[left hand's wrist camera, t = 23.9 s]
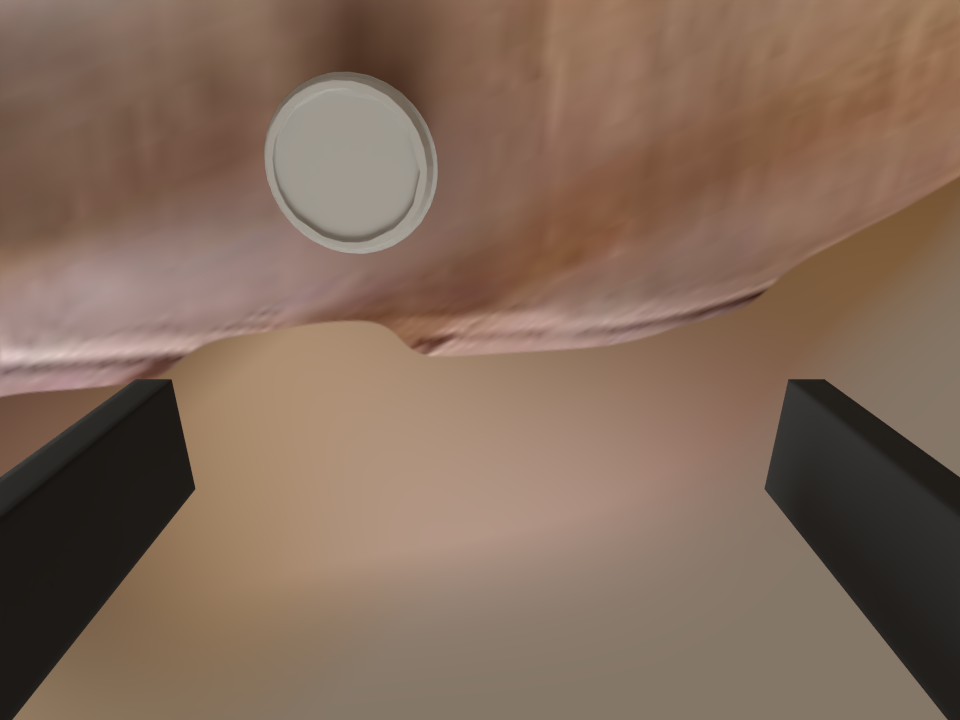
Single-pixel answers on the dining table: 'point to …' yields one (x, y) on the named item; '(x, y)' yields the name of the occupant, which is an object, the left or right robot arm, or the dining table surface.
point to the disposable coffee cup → (351, 162)
